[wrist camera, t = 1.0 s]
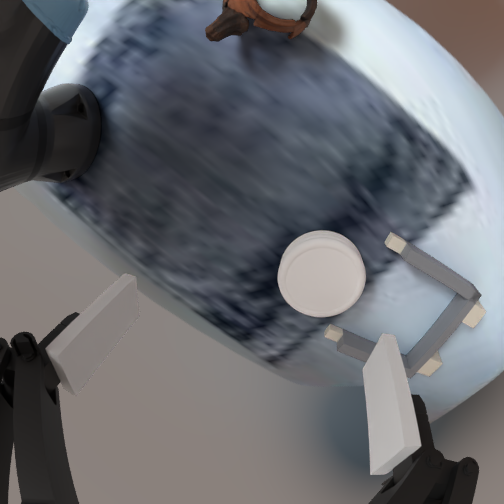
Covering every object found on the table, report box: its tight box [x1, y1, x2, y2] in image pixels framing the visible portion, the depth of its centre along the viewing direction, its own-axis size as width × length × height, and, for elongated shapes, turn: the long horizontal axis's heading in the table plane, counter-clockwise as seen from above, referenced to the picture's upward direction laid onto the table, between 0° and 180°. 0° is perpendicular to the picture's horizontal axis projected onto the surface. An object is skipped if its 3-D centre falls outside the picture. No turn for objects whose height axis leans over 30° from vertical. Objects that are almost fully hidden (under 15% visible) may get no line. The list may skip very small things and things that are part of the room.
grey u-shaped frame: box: [324, 232, 486, 378], centre depth 32 cm, size 18×16×3 cm
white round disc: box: [278, 230, 366, 317], centre depth 32 cm, size 10×10×4 cm
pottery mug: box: [205, 0, 317, 42], centre depth 21 cm, size 12×10×8 cm
